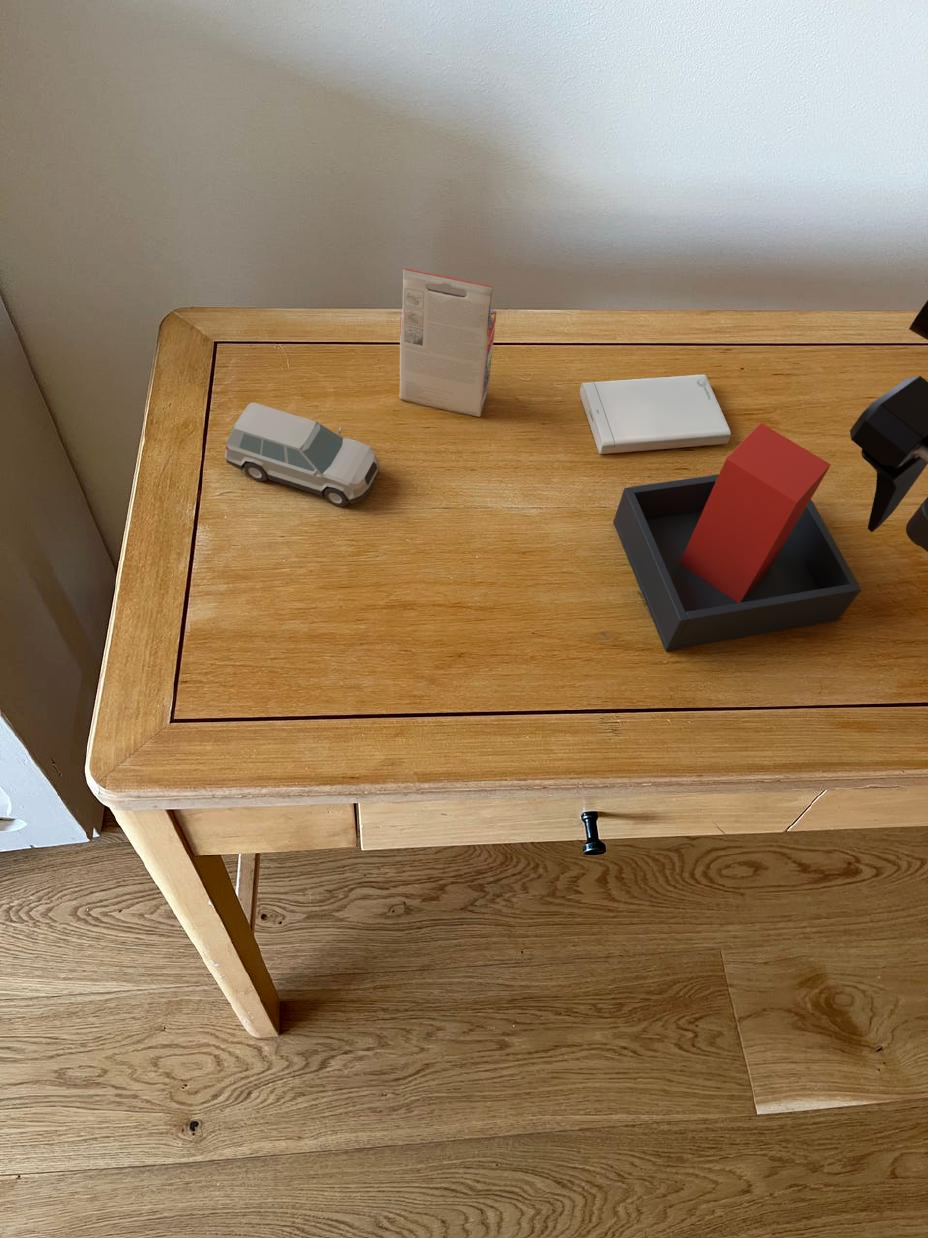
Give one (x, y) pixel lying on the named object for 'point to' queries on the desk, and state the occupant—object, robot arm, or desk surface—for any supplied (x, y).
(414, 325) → the ink box
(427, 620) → the desk surface
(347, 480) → the toy car
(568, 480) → the desk surface
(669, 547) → the dark gray tray
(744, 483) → the package
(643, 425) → the hard drive
